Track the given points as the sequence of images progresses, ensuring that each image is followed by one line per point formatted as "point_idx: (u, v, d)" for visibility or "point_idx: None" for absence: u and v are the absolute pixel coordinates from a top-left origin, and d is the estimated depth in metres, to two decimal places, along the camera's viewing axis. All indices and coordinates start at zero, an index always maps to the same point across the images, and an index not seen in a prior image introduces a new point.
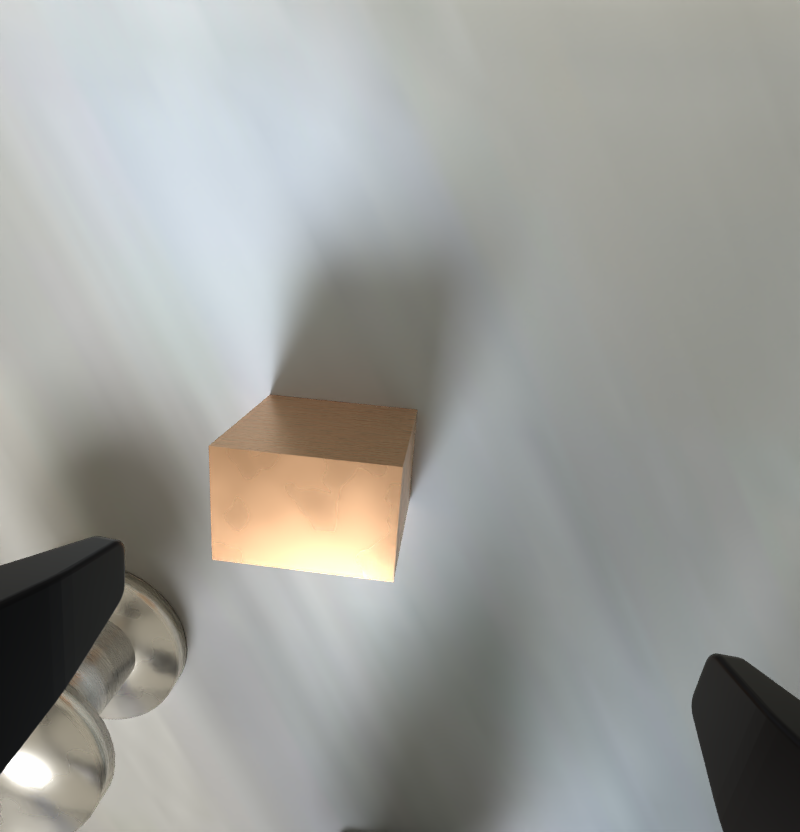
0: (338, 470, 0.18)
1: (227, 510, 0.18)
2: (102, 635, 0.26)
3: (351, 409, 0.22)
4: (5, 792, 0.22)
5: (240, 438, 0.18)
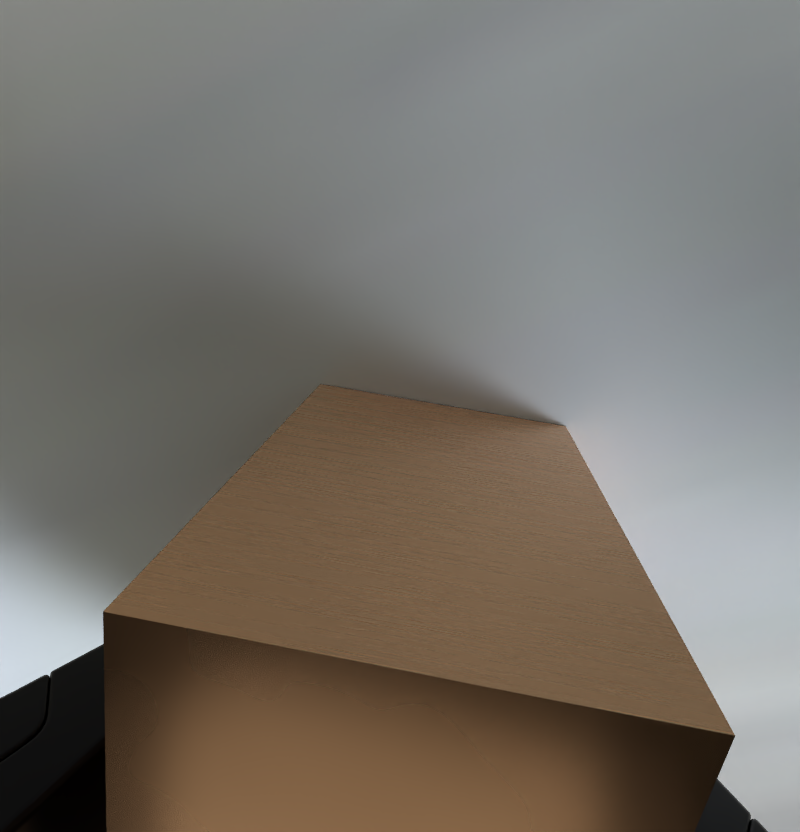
0: None
1: None
2: None
3: None
4: None
5: None
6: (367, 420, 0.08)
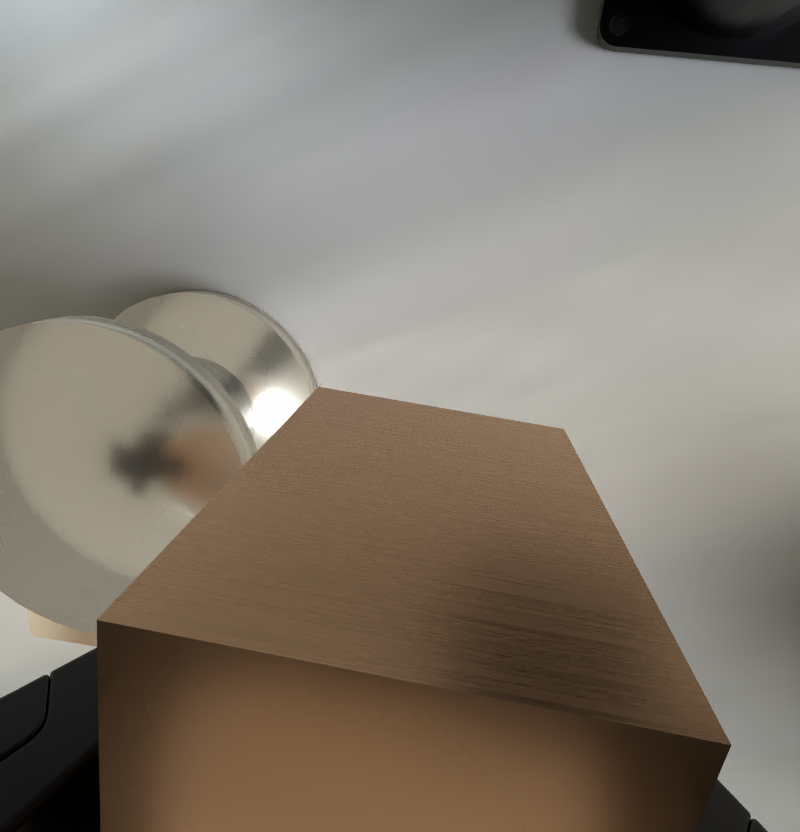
0: None
1: None
2: None
3: None
4: (141, 494, 0.13)
5: None
6: (364, 423, 0.08)
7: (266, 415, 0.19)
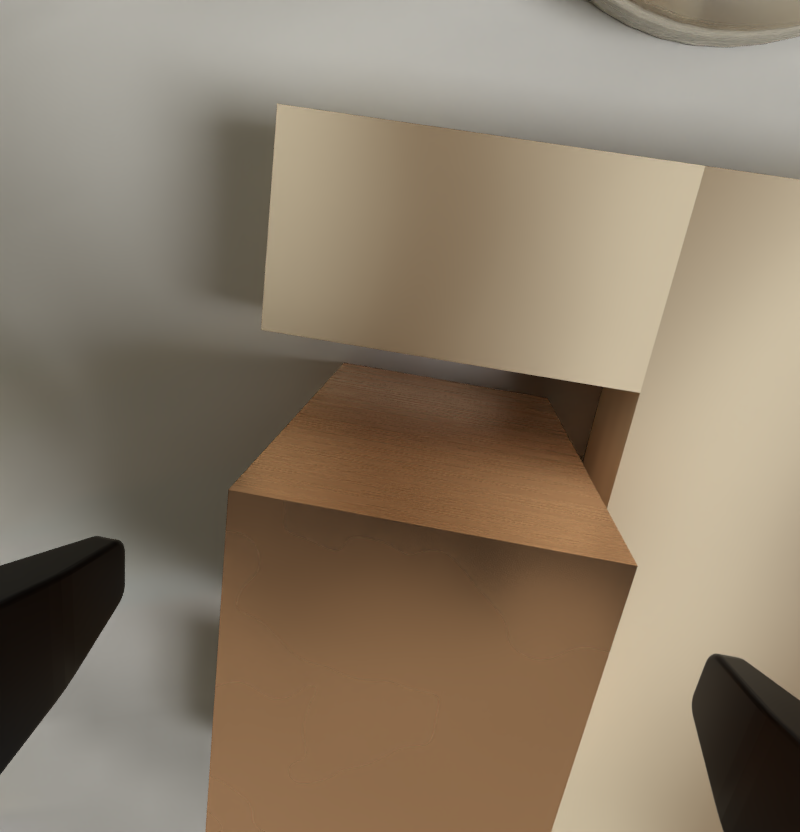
0: (250, 658, 0.06)
1: None
2: None
3: None
4: None
5: None
6: (385, 388, 0.10)
7: None
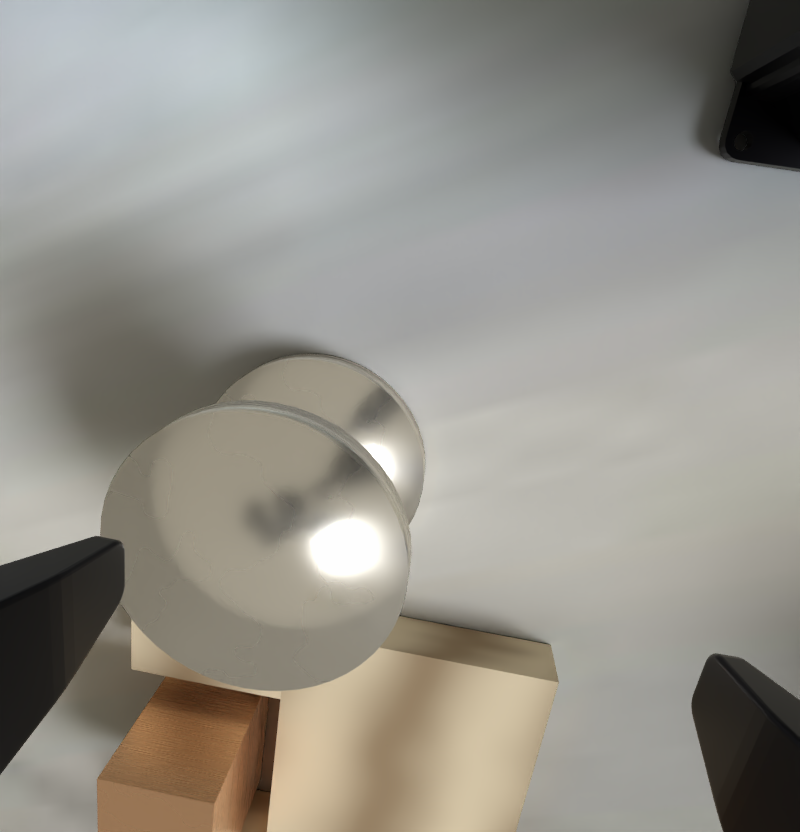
0: (107, 823, 0.20)
1: None
2: None
3: None
4: (306, 566, 0.14)
5: None
6: (189, 682, 0.23)
7: None
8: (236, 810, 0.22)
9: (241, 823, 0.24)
